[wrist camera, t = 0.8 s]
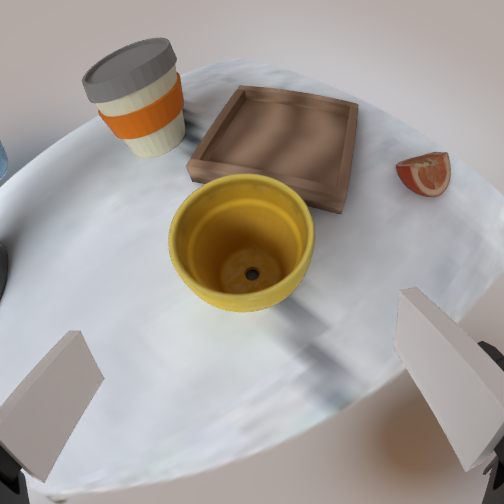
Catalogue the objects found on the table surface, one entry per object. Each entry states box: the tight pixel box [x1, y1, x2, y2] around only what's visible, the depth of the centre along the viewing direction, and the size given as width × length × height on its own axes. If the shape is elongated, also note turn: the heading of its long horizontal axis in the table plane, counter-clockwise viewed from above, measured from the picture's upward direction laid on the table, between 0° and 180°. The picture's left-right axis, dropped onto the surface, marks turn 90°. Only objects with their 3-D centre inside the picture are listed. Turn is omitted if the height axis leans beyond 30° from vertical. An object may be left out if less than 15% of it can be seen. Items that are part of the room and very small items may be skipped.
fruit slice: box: [396, 152, 451, 197], centre depth 29 cm, size 8×7×5 cm
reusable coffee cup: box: [82, 38, 185, 158], centre depth 32 cm, size 12×12×15 cm
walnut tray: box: [186, 86, 359, 214], centre depth 34 cm, size 18×18×3 cm
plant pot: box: [168, 174, 315, 312], centre depth 24 cm, size 10×10×10 cm
